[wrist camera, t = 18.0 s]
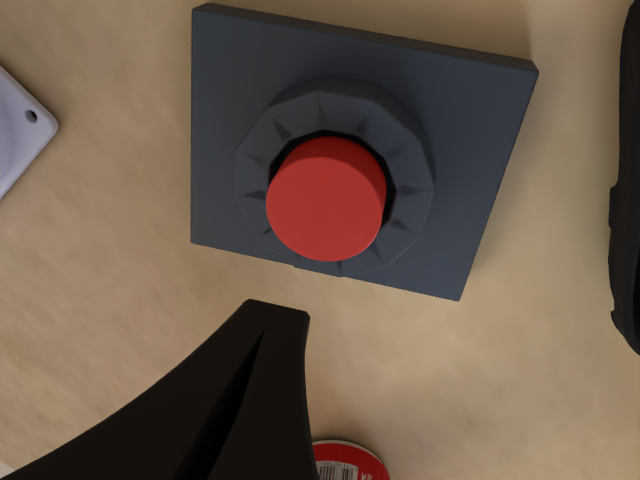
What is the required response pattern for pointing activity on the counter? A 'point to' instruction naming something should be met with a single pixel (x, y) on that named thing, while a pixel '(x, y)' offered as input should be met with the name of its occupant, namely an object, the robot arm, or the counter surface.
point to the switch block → (352, 137)
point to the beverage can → (347, 462)
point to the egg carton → (627, 191)
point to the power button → (327, 199)
